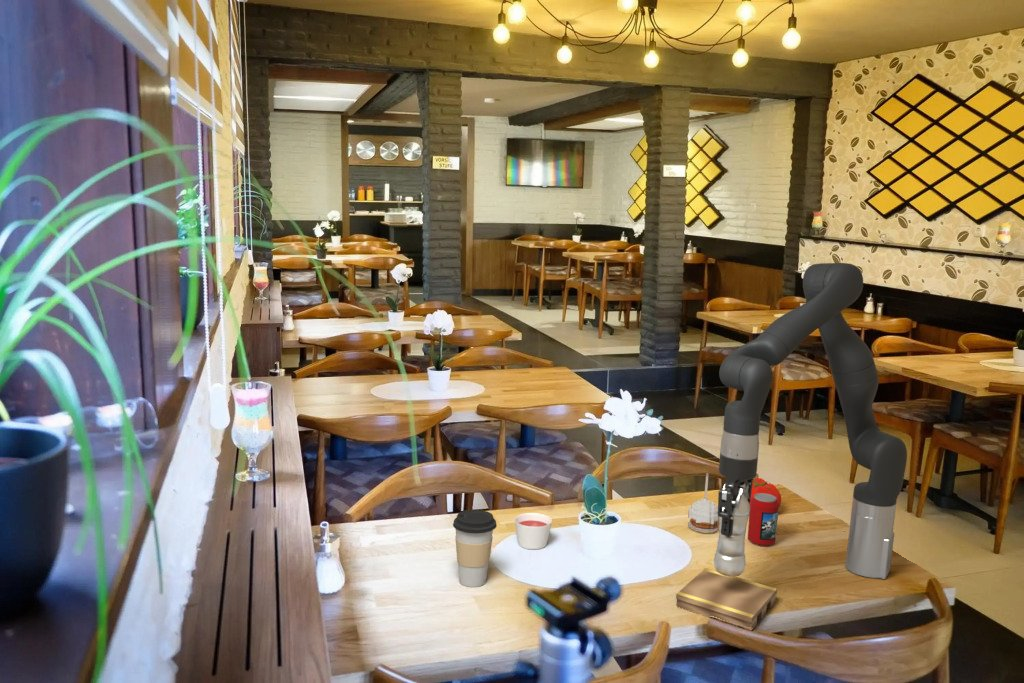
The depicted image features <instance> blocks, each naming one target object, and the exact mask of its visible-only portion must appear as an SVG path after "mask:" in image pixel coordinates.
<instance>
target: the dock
mask: <svg viewBox="0 0 1024 683" xmlns="http://www.w3.org/2000/svg"><path fill="white" fill-rule="evenodd" d="M777 591H778V589H777V588H776V587H773V586H772V587H771V586H770V585H765V584H762V583H759V582H755V581H752V580H749V579H745V578H741V577H739V576H734V577H731V576H725V575H722V574H720V573H718V572H717V571H716V570H714V569H710V568H708V567H707V568H706V567H705V568H704V569H703V570H702V571H701V572H699V573H698V574H697V575H696V576H695V577H694V578H693V579H691V580H690V581H689V582H688V583H687V584H686V585H685V586H683V588H681V589H680V590H679V591H677V592H676V594H675V599H676V602H675V603H676V605H675V606H677V607H676V608H679V607H680V608H679V609H682V608H683V609H682V610H685V609H686V610H685V611H688V610H690V611H689V612H691V611H693V612H692V613H694V612H696V613H695V614H697V613H698V615H700V614H702V615H701V616H703V615H705V616H704V617H707V618H710V616H714V617H717V618H720V619H722V620H725V621H728V622H731V623H735V624H738V625H742V626H746V627H751V628H754V629H755V627H756V626H757V625H758V624H757V623H758V619H759V620H762V619H763V618H764V617H765V615H767V609H768V608H769V609H771V608H772V607H773V606H774V605H775V603H776V596H777Z"/></svg>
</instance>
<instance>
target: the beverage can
mask: <svg viewBox="0 0 1024 683" xmlns="http://www.w3.org/2000/svg"><path fill="white" fill-rule="evenodd" d="M779 508H780V507H779V504H778V502H777V500H776V497H775V496H773V495H770V494H765V493H758V494H755V495H754V497H753V499H752V500H751V504H750V513H749V517H748V529H747V540H749V541H750V542H751V543H752V544H754V545H756V546H758V545H759V546H760V547H770V546H771V545H773V544H775V542H776V539H777V538H776V537H777V528H778V518H779Z"/></svg>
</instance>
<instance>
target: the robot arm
mask: <svg viewBox="0 0 1024 683" xmlns="http://www.w3.org/2000/svg"><path fill="white" fill-rule="evenodd" d="M802 288H803V294H804V298H805V300H806V302H805V303H803V304H801V305H799V306H797V307H795V308H793V309H792V310H790V311H788V312H786V313H784V314H782V315H781V316H779V317H778V318H776V319H775V320H773V321H772V322H771V323H770V324H769V325H768V326H767V327H766V328H765V329H764V330H763V331H762V332H761V333H759V335H758V336H757V337H756V338H754V339H753V340H751V341H749V342H746V343H745V344H743V345H742V346H740V347H738V348H736V349H735V350H733V351H732V352H730V353H729V354H728V355H727V356H726V357H725V358H724V360H723V361H722V363H721V364H720V367H719V371H718V373H719V374H718V375H719V379H720V381H721V383H722V384H723V385H724V386H725V387H727V388H729V389H734V390H737V391H741V392H743V395H742V398H741V400H732V401H730V402H728V403H727V404H726V405H725V409H724V415H723V416H724V417H723V429H722V434H721V437H720V438H721V439H720V449H719V451H720V452H719V462H718V472H719V474H720V476H723V477H724V478H725V479H726V480H725V483H724V485H723V488H719V489H718V494H717V495H718V498H717V500H718V501H717V506H718V516H719V517H722V525H721V534H722V535H725V536H729V537H730V536H731V535H732V534H733V522H734V515H735V510H736V509H738V508H739V505H740V501H741V497H742V496H743V494H744V496H745V497H746V499H747V501H748V503H750V501H751V492H752V484H753V479H756V478H757V472H758V471H757V470H758V460H759V449H760V425H761V414H762V411H763V408H764V406H765V403H766V401H767V398H768V395H769V393H770V390H771V387H772V384H773V380H774V377H773V375H774V374H773V369H772V367H774V366H778V365H780V364H781V363H783V362H784V361H785V360H786V359H787V358H788V357H789V355H791V354H792V352H793V351H795V350H796V348H797V347H799V345H800V344H801V343H803V342H804V341H805V340H806V339H807V338H808V337H809V336H810V335H811V334H812V333H814V332H815V331H817V330H818V332H819V335H820V338H821V341H822V345H823V347H824V350H825V354H826V357H827V360H828V365H829V369H830V372H831V376H832V378H833V379H832V380H833V382H834V385H835V388H836V392H837V395H838V399H839V402H840V406H841V409H842V413H843V417H844V422H845V428H846V434H847V439H848V445H849V450H850V454H851V456H852V460H854V461H855V462H856V463H857V464H858V465H859V466H861V467H863V468H865V469H868V470H870V472H869V477H868V480H867V481H863V482H862V481H861V482H859V483H856V484H855V485H854V487H853V493H852V494H853V495H852V503H851V513H850V522H849V529H848V530H849V531H848V540H847V547H846V557H845V568H846V569H847V570H848V571H849V572H851V573H853V574H856V575H858V576H862V577H866V578H873V579H883V580H886V578H887V577H888V575H889V573H890V572H891V565H892V557H893V549H894V541H895V540H894V538H895V532H894V527H895V526H894V525H895V517H896V510H897V509H896V508H897V499H898V497H899V495H900V493H901V491H902V488H903V483H904V478H905V472H906V468H907V467H906V466H907V460H908V450H907V446H906V444H905V442H904V441H903V440H902V439H901V438H899V437H897V436H894V435H892V434H889V433H888V432H884V431H882V430H881V429H880V427H879V425H878V424H877V420H876V418H875V414H874V409H873V408H874V407H873V404H874V400H875V398H876V394H877V391H878V388H879V375H878V370H877V367H876V366H877V365H876V363H875V360H874V355H873V353H872V350H870V348H869V346H868V345H867V344H866V342H865V341H864V340H863V339H862V338H861V337H860V335H858V334H857V332H856V331H855V330H854V329H853V328H852V327H851V325H849V323H848V322H847V321H846V319H845V317H844V315H843V313H842V312H843V311H844V310H845V309H847V308H848V307H850V306H851V305H852V304H853V303H855V302H856V300H858V299H859V297H860V296H861V294H862V292H863V289H864V276H863V273H862V271H861V269H860V268H859V267H858V266H856V265H855V264H853V263H848V262H847V263H846V262H824V263H823V262H822V263H814V264H811V265H810V266H808V267H807V268H806V269H805V271H804V273H803V278H802ZM744 482H745V493H744V487H740V485H743V484H744ZM732 501H736V503H734V504H733V503H732ZM726 508H727V512H725V510H726Z"/></svg>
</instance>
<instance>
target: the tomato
mask: <svg viewBox="0 0 1024 683" xmlns="http://www.w3.org/2000/svg"><path fill="white" fill-rule="evenodd" d="M758 493H765V494H770V495H773V496H775V497H776V500H777V502H778V504H779V508H780V507H781V504H782V495H781V492H780V491H779V489H778V487H776V485H775V484H773V483H771V482H768V481H766V480H765V479H764V478H762V477H755V478H753V484H752V492H751V500H752V499H753V497H754V495H755V494H758ZM750 504H751V501H750V503H749V505H750Z"/></svg>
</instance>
